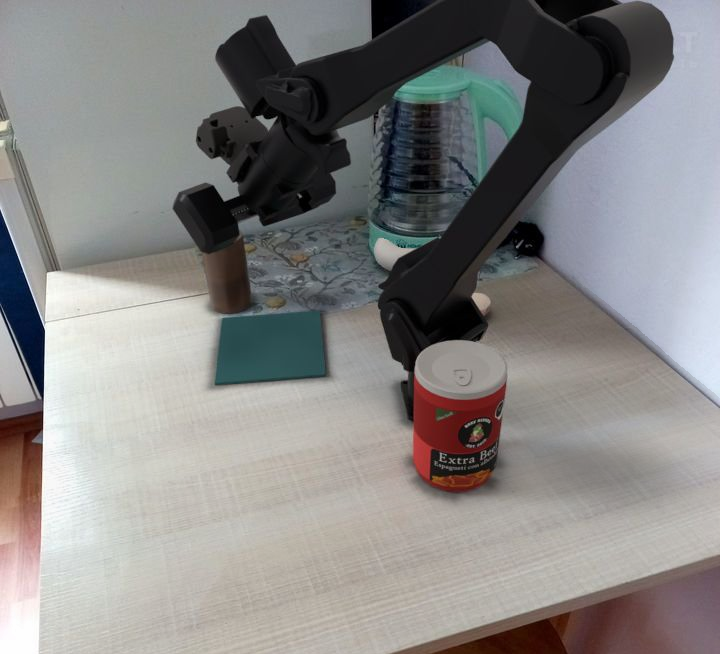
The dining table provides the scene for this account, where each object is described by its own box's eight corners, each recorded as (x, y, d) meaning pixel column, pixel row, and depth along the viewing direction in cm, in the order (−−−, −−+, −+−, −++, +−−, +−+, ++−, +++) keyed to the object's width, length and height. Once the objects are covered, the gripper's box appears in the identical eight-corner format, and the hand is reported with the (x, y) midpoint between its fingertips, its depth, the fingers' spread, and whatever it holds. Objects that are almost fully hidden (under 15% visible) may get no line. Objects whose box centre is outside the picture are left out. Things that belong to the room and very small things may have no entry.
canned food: (430, 502, 61) (434, 400, 54) (400, 446, 67) (401, 348, 60) (510, 483, 63) (525, 382, 56) (475, 430, 69) (484, 332, 62)
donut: (430, 243, 102) (364, 252, 100) (431, 219, 99) (363, 229, 97) (458, 272, 94) (387, 283, 92) (460, 248, 92) (387, 259, 90)
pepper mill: (252, 312, 88) (239, 225, 81) (210, 315, 88) (193, 228, 80) (253, 292, 92) (240, 207, 85) (213, 295, 92) (197, 210, 84)
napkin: (325, 376, 77) (325, 374, 77) (215, 385, 76) (214, 382, 76) (319, 312, 87) (319, 310, 87) (222, 319, 87) (222, 317, 87)
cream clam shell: (483, 325, 84) (485, 307, 82) (443, 318, 85) (444, 299, 84) (493, 308, 87) (495, 290, 85) (454, 302, 88) (455, 283, 87)
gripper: (310, 65, 74) (254, 153, 87) (163, 107, 63) (124, 199, 76) (368, 158, 75) (304, 231, 88) (232, 214, 65) (182, 287, 78)
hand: (232, 235), depth 82 cm, fingers open, 9 cm apart
